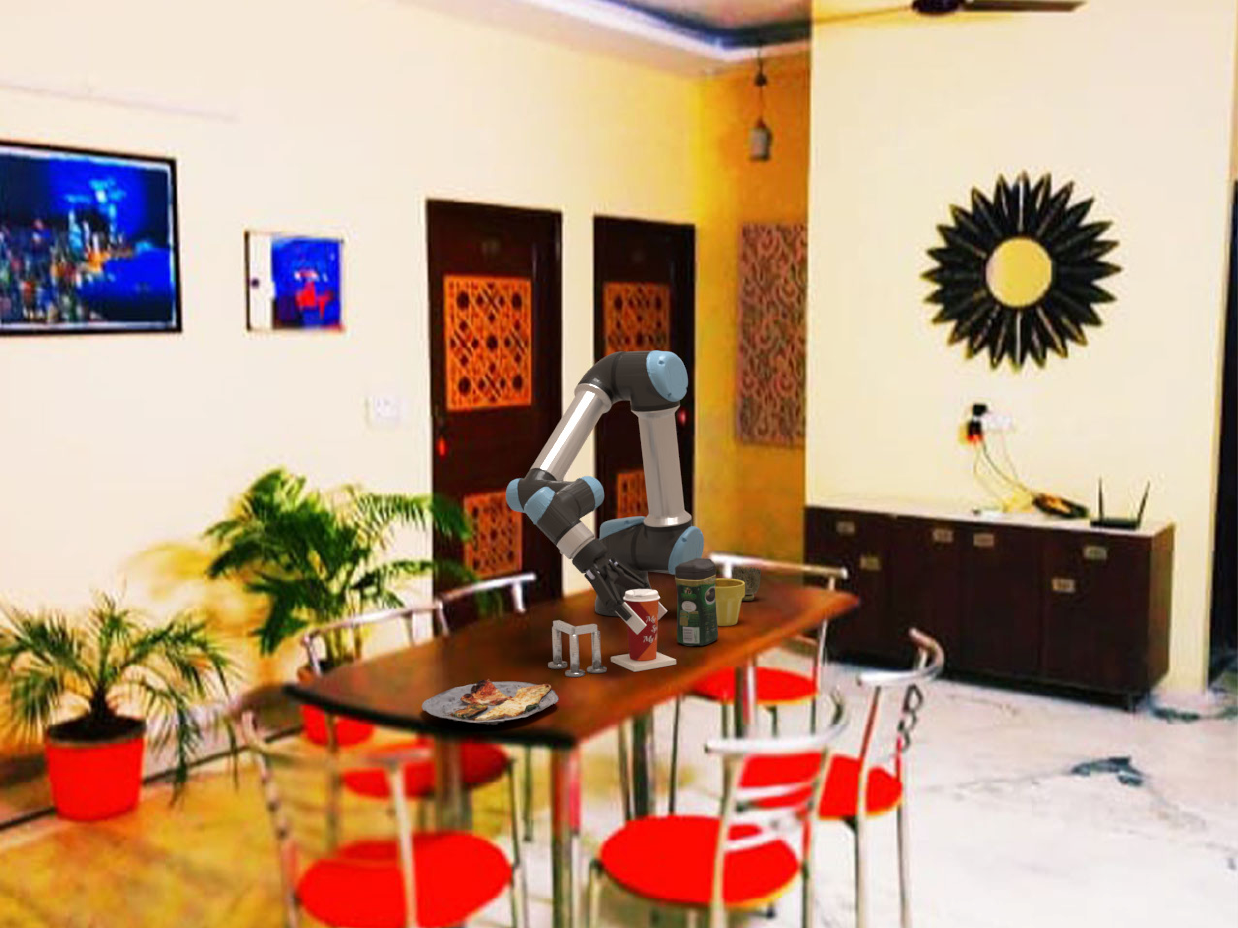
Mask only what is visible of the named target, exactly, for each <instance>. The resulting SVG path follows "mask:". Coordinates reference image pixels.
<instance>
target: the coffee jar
mask: <svg viewBox="0 0 1238 928" xmlns="http://www.w3.org/2000/svg"><path fill="white" fill-rule="evenodd" d="M716 573H717V572H716V564H715V563H714V562H713V560H712V559H711V558H702V557H701V558H695V559H693V560H690V561H687V562H684V563H681V564H679V565H678V566H676V567H675V575H674V581H675V586H676V591H677V592H676V598H677V600H676V601H677V609H676V613H677V614H676V617H677V620H676V641H677V643H679V644H681V645H684V646H688V647H694V646H706V645H709V644H710V643H712V642H714V641H716V640H717V639H718V638H719V631H718V630H719V629H718V628H719V626H717V615H716V600H715V580H716V579H717V575H716Z"/></svg>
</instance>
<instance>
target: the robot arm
mask: <svg viewBox="0 0 1238 928" xmlns="http://www.w3.org/2000/svg"><path fill="white" fill-rule="evenodd" d="M688 385H689V378H688V373H687V369H686V367H685V365H684V362H683V361H682V359H681V358H680V357H679V356H678V355H677V354H676V353H674V352H672V351H666V350H664V351H663V350H658V349H657V350H637V351H636V350H635V351H634V350H633V351H625V350H623V351H622V350H621V351H616V352H613V353H610V354H608V355H606V356H604V357H603V358H601V359H599V361H596V363H595V364H593V365H592V367H591V368H589V370H587V371H586V373H584V375H583V376H582V377H581V379H580V380H579V381H578V383H577V385H576V387H575V388H574V391H573V394H574V398H573V400H572V401H571V403H570V404H569V406H568V407H567V409H566V410H565V413H564V414H563V415H562V417H561V419H560V420H559V422H558V423H557V425H556V427H555V429H554V430H553V432H552V433H551V435H550V437H549V438H548V440H547V442H546V443H545V444H544V446H543V447H542V449H541V451H540V453H539V454H538V455H537V458H536V459H535V461H534V463H533V464H532V465H531V467H530V469H529V471H528V472H527V474H526V476H525V477H524V478H523V477H521V478H520V477H519V478H515V479H513V480H511V481H510V482H509V483H508V485H507V487H506V489H505V490H506V491H505V500H506V501H505V502H506V503H507V505H508V507H509V508H510V509H511V510H512V511H514V512H518V513H524V514H526V515H527V516H528V518H529V519H530V520H531V521H532V523H533V525H535V526H536V527H537V528H538V529H539V530H540V531H541V532H542V533H543V534H544V535H545V536H546V537H547V538H548V539H549V540H550V541H551V542H552V543H553V544H554V546H556V547H557V548H558V550H559V553H560V554H561V555H564V556H565V557H566V558H567V559H568V560H571V564H572V565H573V566H574V567H575V568H576V569H577V570H578V571H579V573H581V574H584V575H583V576H584V578H585V579H586V580H587V581H588V583H590V586H591V587H592V588H593V590H594V592H595V593H596V598H595V601H594V612H596V614H599V615H602V616H607V617H620V619H622V621H624V623H625V624H626V626H627V625H628V626H629V627H630V628H631V629H632V630H633V631H634V632H635V633H636V634H639V633H640V632H641V631H642V630H643V629H644V628H645V627H646V626H647V625H646V624H645V623H644V622H643V620H642V619H641V618H640V617H639V616H638V615H637V614H636V613H635V612H634V611H633V610H632V609H631V608H630V607H629V606H628V605H627V604H626V602H625V600H624V599H623V598H624V596H625V592H626V591H629V590H635V589H651V590H653V589H652V587H651V584H650V581H649V575H648V574H649V573H648V572H651V573H652V572H653V573H662V574H669V575H674V576H675V567H676V566H678V565H679V564H681V563H684V562H687V561H690V560H693V559H695V558H702V557H703V553H704V548H705V547H704V546H705V539H704V534H703V532H702V529H700V528H699V527H697V526H695V525H693V519H692V515H691V514H690V513H689V512H688V511H686V510H685V503H684V492H683V484H682V482H683V481H682V475H681V474H682V473H681V463H680V457H679V456H680V454H679V443H678V435H677V433H678V432H677V426H676V425H677V424H676V416H675V415H676V414H675V413H676V411H678V409H679V408H680V406H681V403H680V402H681V401H680V400H682V399H683V398H684V397H685V396H686V394H687V392H688V391H687V388H688ZM621 401H630V402H629V403H630V411H631V412H632V413H633V414H634V415H636V416H637V417H638V425H639V426H638V427H639V433H640V434H639V437H640V442H641V444H640V445H641V452H642V453H641V454H642V461H643V471H644V481H645V491H646V498H647V508H648V514H647V516H641V515H639V516H638V515H637V516H629V517H622V518H615V519H614V518H613V519H610V520H607V521H604V522H602V523H601V525H600V527H599V538H595V534H594V533H593V531H592V530H590V528H588V526H587V525H586V524H585V523H584V522H583V521H582V520H581V519H582V518H583V517H585V516H587V515H588V514H590V513H592V512H594V511H595V510H596V509H597V508H598V507H599V506H601V505H602V504H603V502H604V499H605V492H604V487H603V484H601V482H600V481H599V480H598V479H597V478H595V477H593V476H591V475H584V476H582V477H579V478H577V479H575V480H574V481H564V478H565V476H566V474H567V472H568V471H569V469H570V468H571V466H572V465H573V462H574V461H575V459H576V458H577V456H578V454H579V453H580V452H581V449H582V448H583V446H584V445H585V443H586V441H587V440H588V438H589V437H590V435H591V433H592V432H593V430H594V429H595V426H596V425H597V423H598V421H599V419H600V418H601V417H602V415H603V414H605V413H608V412H609V411H610V410H611V409H612V406H613V405H614V404H616V403H618V402H621ZM667 612H668V610H667V608H665V607H664V606H663V604H661V602H660V601H659V602H658V621H659V620H660V619H661V618H662V617H663V616H664V615H665V614H667Z"/></svg>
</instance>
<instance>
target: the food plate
mask: <svg viewBox="0 0 1238 928" xmlns="http://www.w3.org/2000/svg"><path fill="white" fill-rule="evenodd" d="M559 701H560V697H559V696H558V694H557V693H556V691H555V690H553V689H552V685H551V683H543V684H536V683H531V682H525V681H513V680H511V681H509V680H508V681H503V680H502V681H491V679H490V678H487V680H485V679H480V680H478V681H477V682H476V683H473V684H472V683H470V684H467V685H464V686H456V687H452V688H450V689H447V690H445V691H443V692H440V693H438V694H436V695H433V696H431V697H429V698H427V699H425V700H424V701H423V702H422V704H421V709H422V710H423V711H424V712H426V713H428V714H430V715H431V716H433V717H436V718H437V717H438V718H439V719H448V720H453V722H458V721H459V722H465V723H468V724H469V723H472V724H479V725H491V726H494V725H496V726H497V725H498V724H499V723H505V721H512V720H518V719H521V718H522V719H523V718H527V717H529V716H531V715H534V714H536V713H538V712H541V711H543V710H545V709H546V708H548V707H550V706H551V705H553V704H556V703H558V702H559ZM452 715H453V716H452ZM473 719H474V720H473Z"/></svg>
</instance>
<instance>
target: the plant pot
mask: <svg viewBox="0 0 1238 928" xmlns="http://www.w3.org/2000/svg"><path fill="white" fill-rule="evenodd" d="M744 596H745V582H744V581H741V580H737V579H733V578H716V580H715V600H716V615H717V626H718V627H730V626H735V625H737V623H738V621H739V615H740V611H741V605H742V598H743V597H744Z"/></svg>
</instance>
